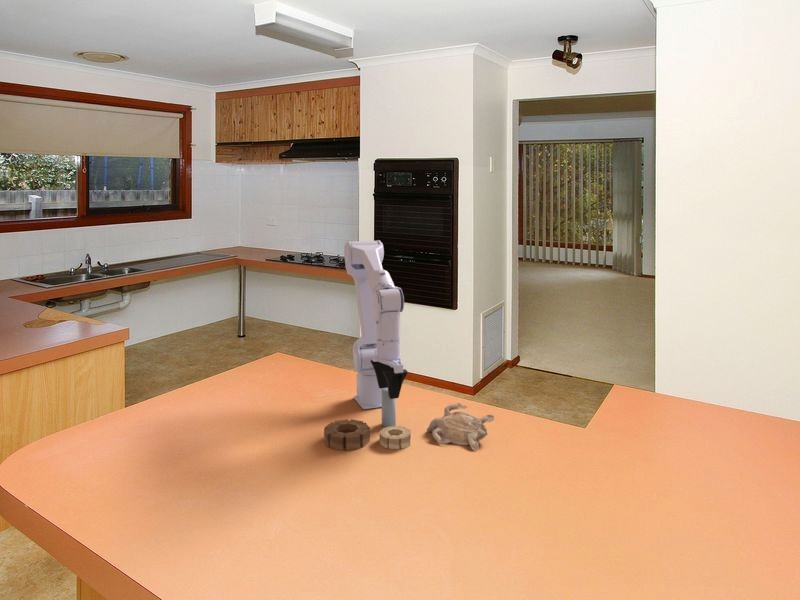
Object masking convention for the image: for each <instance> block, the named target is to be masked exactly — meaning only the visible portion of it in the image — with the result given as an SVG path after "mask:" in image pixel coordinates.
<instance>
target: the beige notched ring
mask: <svg viewBox="0 0 800 600" xmlns="http://www.w3.org/2000/svg"><path fill="white" fill-rule="evenodd" d="M411 443H412V431H411V429H410V428H407V427H405V426H401V425H395V426H391V427H390V426H388V427H383V428H381V429H380V431H379V445H380V446H381V447H382V448H385V449H388V450H403V449H405V448H408V447H410V446H411Z"/></svg>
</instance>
